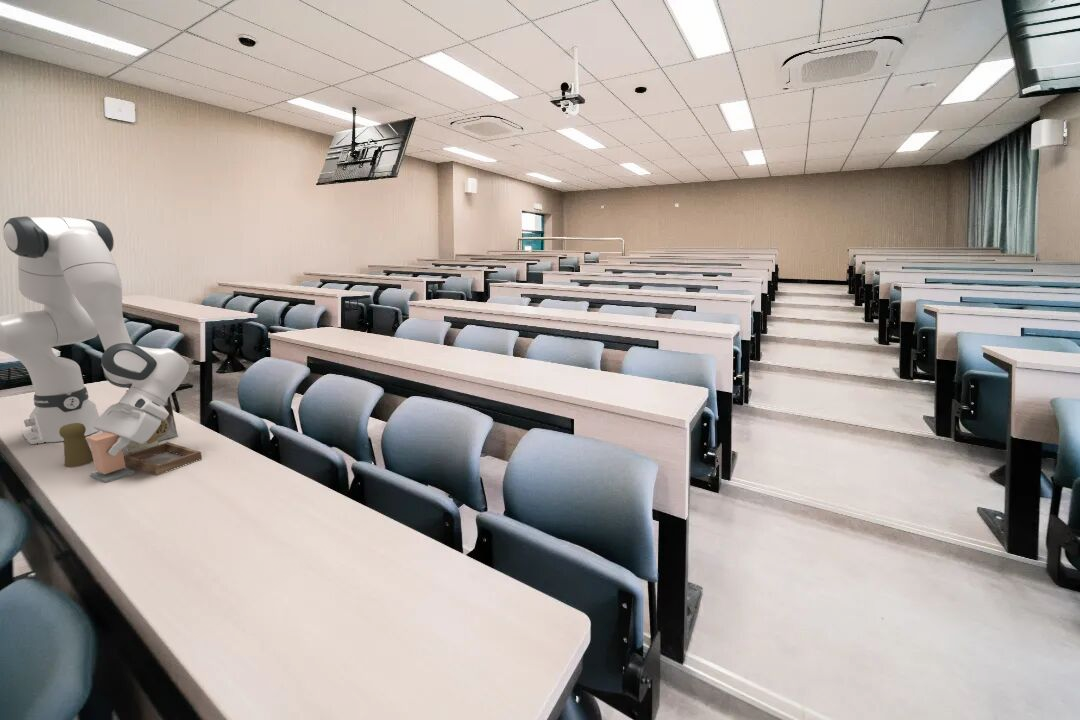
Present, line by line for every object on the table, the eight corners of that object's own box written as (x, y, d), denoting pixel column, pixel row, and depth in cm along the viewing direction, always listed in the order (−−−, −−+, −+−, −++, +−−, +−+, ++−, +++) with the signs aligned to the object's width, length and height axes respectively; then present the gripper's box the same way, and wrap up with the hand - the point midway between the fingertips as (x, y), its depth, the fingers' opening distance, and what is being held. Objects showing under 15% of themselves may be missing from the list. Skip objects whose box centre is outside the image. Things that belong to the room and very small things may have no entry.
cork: (63, 462, 136) (54, 424, 133) (93, 456, 140) (84, 419, 138) (65, 469, 132) (56, 430, 129) (95, 462, 136) (87, 424, 134)
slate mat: (90, 476, 128) (89, 474, 128) (117, 467, 133) (117, 465, 133) (106, 482, 124) (105, 480, 124) (133, 473, 129) (133, 470, 129)
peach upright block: (93, 471, 127) (85, 437, 125) (117, 463, 132) (110, 430, 130) (103, 475, 125) (96, 440, 123) (127, 467, 129) (121, 433, 127)
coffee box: (171, 431, 158) (162, 383, 154) (178, 436, 154) (169, 386, 151) (135, 440, 151) (125, 389, 148) (141, 445, 147) (131, 393, 144)
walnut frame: (124, 463, 135) (123, 456, 135) (168, 449, 145) (167, 441, 144) (157, 475, 128) (155, 467, 128) (201, 459, 138) (200, 451, 137)
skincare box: (139, 453, 141) (130, 413, 139) (127, 452, 142) (118, 412, 140) (160, 445, 148) (153, 406, 145) (148, 443, 149) (141, 404, 146)
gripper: (109, 394, 135) (71, 440, 129) (150, 404, 126) (112, 454, 120) (131, 405, 140) (96, 450, 134) (172, 415, 131) (137, 464, 125)
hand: (104, 452), depth 127 cm, fingers closed on peach upright block, 5 cm apart
